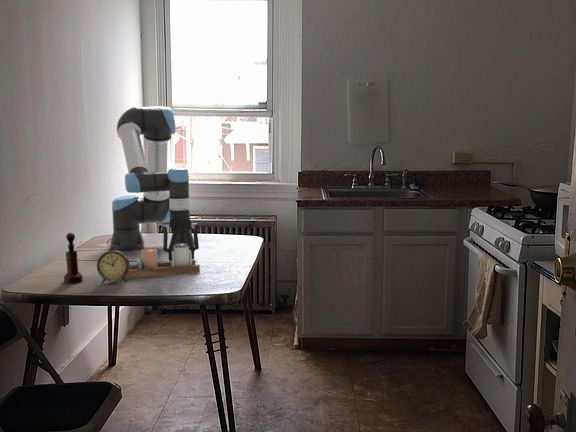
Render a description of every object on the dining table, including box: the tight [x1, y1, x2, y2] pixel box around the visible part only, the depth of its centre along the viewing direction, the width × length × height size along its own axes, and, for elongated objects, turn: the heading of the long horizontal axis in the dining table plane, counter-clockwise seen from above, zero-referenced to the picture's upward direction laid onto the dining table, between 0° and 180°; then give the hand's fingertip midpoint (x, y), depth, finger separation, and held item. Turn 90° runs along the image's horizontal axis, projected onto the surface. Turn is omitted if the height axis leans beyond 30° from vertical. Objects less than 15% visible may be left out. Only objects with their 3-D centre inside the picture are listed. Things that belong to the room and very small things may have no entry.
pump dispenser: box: [172, 226, 195, 252], centre depth 284 cm, size 10×10×15 cm
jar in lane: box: [140, 248, 159, 269], centre depth 260 cm, size 6×6×9 cm
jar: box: [173, 243, 190, 266], centre depth 264 cm, size 6×6×10 cm
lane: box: [124, 258, 201, 280], centre depth 262 cm, size 10×29×3 cm, turn 108°
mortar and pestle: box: [63, 232, 84, 284], centre depth 249 cm, size 7×6×18 cm
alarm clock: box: [96, 238, 130, 285], centre depth 247 cm, size 11×5×16 cm, turn 95°
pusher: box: [129, 257, 142, 269], centre depth 258 cm, size 7×7×5 cm
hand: (181, 268), depth 264 cm, fingers closed on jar, 6 cm apart
